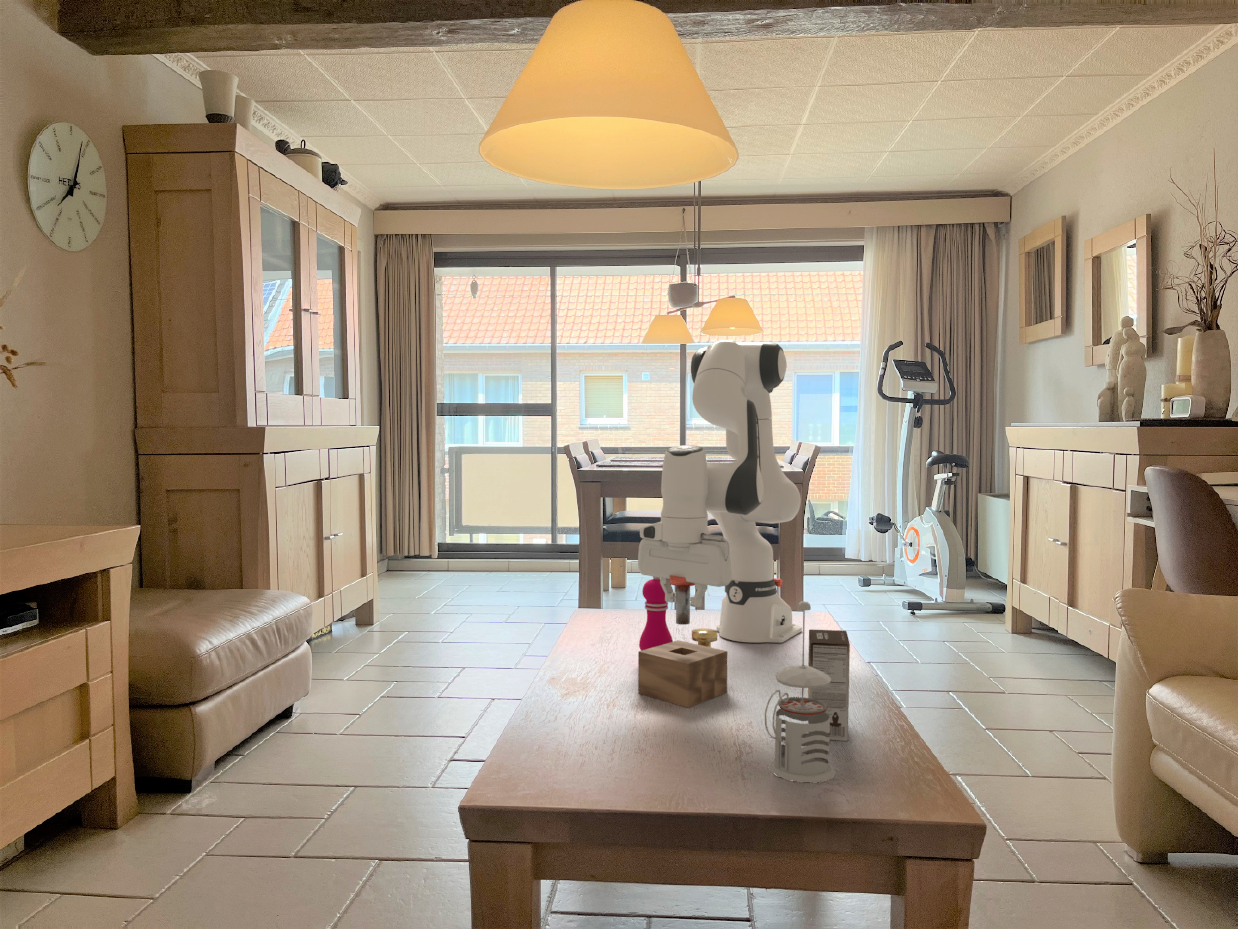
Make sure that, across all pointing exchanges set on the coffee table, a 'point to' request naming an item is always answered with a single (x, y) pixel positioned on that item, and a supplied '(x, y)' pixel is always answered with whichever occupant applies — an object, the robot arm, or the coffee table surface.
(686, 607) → the red round-headed grey cylinder
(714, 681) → the hitch block
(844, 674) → the coffee box
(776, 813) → the coffee table surface
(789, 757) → the french press
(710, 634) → the brass pin
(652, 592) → the pepper mill
